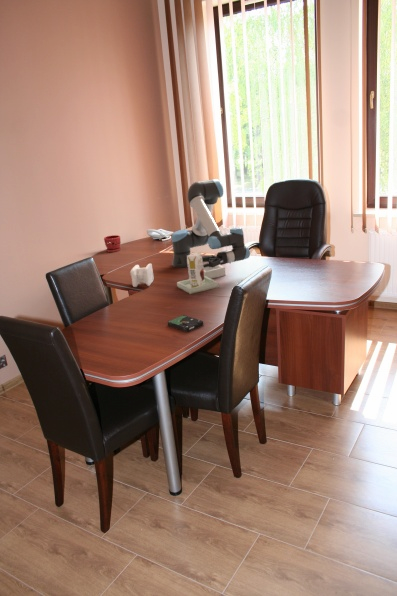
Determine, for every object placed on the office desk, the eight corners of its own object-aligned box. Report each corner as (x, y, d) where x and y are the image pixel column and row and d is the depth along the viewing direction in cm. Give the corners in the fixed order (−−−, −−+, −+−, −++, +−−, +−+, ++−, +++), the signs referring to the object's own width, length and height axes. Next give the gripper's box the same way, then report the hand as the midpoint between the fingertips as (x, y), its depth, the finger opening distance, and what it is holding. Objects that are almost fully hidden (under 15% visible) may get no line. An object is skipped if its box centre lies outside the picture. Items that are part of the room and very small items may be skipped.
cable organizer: (149, 287, 295) (146, 269, 292) (132, 288, 297) (129, 270, 293) (154, 280, 309) (151, 262, 306) (138, 281, 311) (135, 263, 307)
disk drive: (204, 326, 229) (183, 319, 239) (203, 320, 228) (183, 314, 238) (187, 333, 222) (167, 326, 233) (186, 328, 221) (166, 321, 232)
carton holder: (196, 275, 310) (195, 267, 308) (215, 270, 315) (214, 263, 313) (206, 279, 298) (205, 271, 296) (225, 275, 303) (224, 267, 301)
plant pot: (104, 253, 401) (101, 239, 397) (109, 249, 413) (107, 235, 409) (119, 252, 398) (116, 237, 395) (124, 248, 411) (121, 234, 407)
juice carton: (188, 287, 283) (185, 256, 277) (194, 283, 291) (190, 252, 285) (201, 288, 281) (197, 255, 274) (206, 283, 288) (202, 252, 282)
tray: (177, 286, 290) (176, 282, 289) (204, 280, 297) (204, 275, 296) (190, 294, 275) (189, 289, 274) (218, 287, 281) (217, 282, 281)
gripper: (236, 267, 279) (202, 275, 271) (216, 259, 301) (184, 266, 293) (235, 254, 277) (201, 262, 269) (214, 247, 298) (183, 254, 291)
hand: (192, 264), depth 281 cm, fingers open, 13 cm apart
